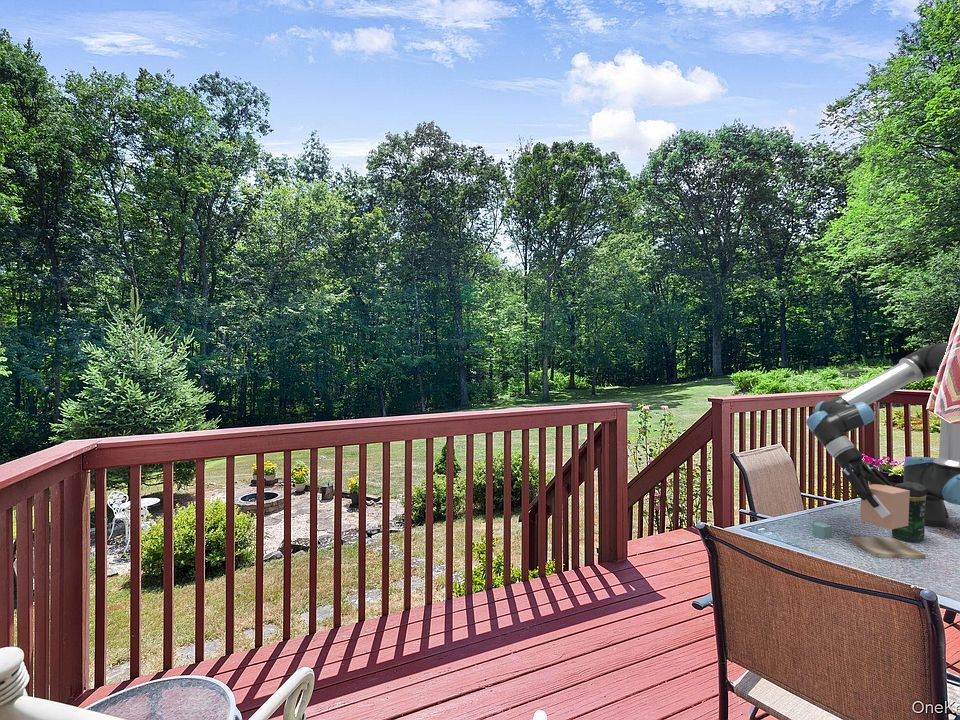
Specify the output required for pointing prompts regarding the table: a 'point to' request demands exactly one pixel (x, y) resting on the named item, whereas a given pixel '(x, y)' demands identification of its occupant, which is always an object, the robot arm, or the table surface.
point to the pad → (886, 547)
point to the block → (822, 530)
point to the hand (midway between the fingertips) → (895, 514)
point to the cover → (887, 507)
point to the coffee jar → (913, 513)
